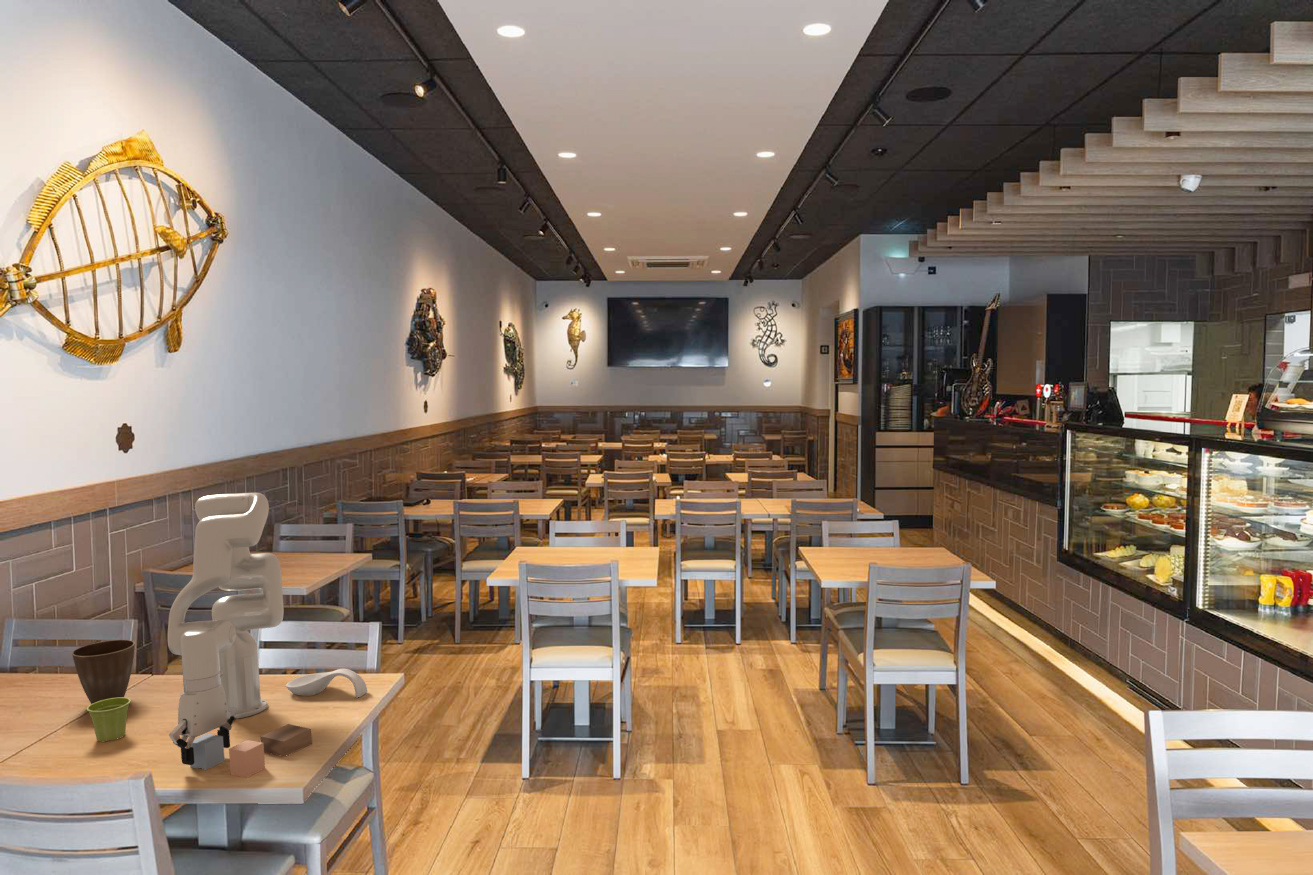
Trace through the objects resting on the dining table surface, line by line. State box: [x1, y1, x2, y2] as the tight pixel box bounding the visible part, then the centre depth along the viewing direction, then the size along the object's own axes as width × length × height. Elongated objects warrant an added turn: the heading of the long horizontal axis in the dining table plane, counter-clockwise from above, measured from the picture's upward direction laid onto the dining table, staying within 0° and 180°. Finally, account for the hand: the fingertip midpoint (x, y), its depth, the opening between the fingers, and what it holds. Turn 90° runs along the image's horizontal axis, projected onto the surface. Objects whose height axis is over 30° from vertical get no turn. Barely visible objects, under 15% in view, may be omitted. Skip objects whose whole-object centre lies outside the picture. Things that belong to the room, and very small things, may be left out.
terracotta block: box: [228, 739, 266, 779], centre depth 195 cm, size 5×5×6 cm
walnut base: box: [260, 723, 313, 757], centre depth 208 cm, size 8×8×4 cm
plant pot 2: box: [86, 696, 132, 742], centre depth 218 cm, size 9×9×9 cm
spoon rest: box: [285, 668, 368, 699], centre depth 245 cm, size 24×12×7 cm, turn 75°
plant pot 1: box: [71, 639, 136, 705], centre depth 243 cm, size 15×15×16 cm
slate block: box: [189, 733, 226, 771], centre depth 200 cm, size 5×5×6 cm
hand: (206, 755), depth 200 cm, fingers open, 9 cm apart
